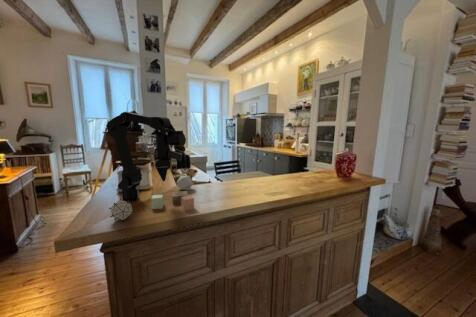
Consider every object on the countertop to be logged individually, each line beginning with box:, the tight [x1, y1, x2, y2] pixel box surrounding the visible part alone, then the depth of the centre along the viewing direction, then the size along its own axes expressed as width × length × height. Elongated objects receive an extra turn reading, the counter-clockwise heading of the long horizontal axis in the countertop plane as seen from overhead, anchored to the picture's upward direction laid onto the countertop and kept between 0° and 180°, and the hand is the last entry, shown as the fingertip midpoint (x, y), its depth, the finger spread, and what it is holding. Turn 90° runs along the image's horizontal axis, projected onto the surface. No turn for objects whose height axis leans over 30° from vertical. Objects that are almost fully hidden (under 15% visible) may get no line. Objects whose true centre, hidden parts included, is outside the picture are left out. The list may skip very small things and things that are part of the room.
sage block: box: [150, 194, 164, 210], centre depth 92 cm, size 4×4×5 cm
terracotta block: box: [180, 195, 195, 212], centre depth 91 cm, size 4×4×5 cm
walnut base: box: [171, 190, 189, 205], centre depth 99 cm, size 7×7×4 cm
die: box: [176, 175, 194, 191], centre depth 117 cm, size 8×9×10 cm
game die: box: [108, 197, 136, 223], centre depth 78 cm, size 9×8×10 cm
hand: (164, 178), depth 94 cm, fingers open, 9 cm apart
